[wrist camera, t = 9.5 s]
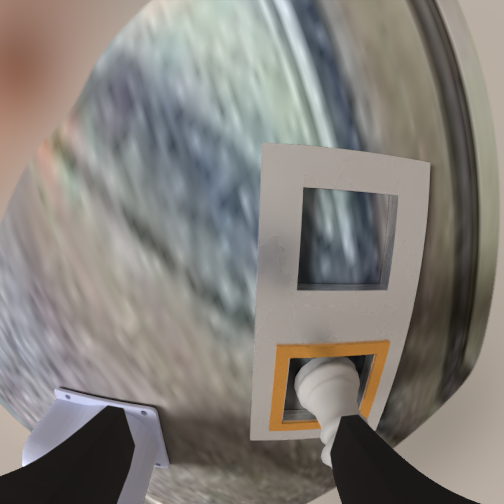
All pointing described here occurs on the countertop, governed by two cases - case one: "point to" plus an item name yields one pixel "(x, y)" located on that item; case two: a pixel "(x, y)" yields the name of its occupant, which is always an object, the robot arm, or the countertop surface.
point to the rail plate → (331, 295)
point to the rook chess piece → (328, 395)
